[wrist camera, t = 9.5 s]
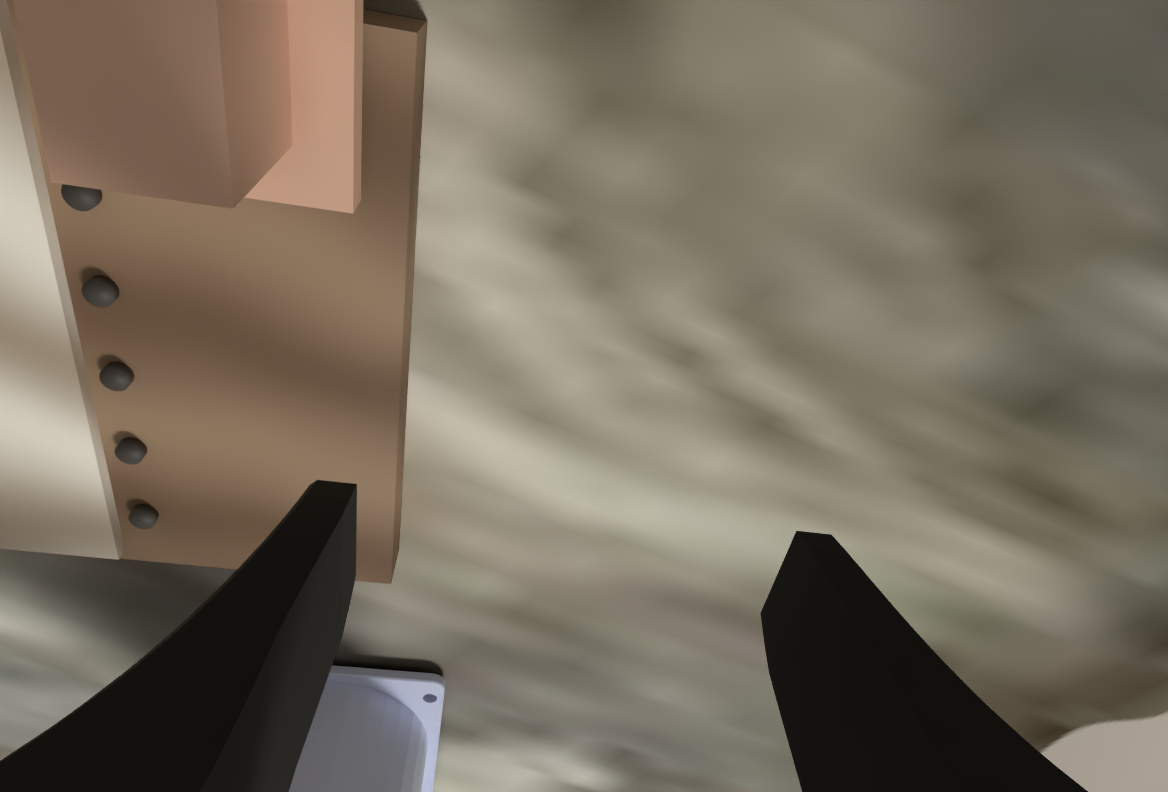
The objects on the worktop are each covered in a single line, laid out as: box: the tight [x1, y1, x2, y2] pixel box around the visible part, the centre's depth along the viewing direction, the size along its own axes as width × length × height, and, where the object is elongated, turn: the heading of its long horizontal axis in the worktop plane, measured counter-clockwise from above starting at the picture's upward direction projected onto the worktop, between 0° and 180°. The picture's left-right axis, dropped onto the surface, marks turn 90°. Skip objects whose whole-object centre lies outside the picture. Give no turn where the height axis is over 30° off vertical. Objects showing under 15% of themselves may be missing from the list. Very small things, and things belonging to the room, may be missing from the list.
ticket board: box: [0, 0, 427, 584], centre depth 20 cm, size 16×14×2 cm
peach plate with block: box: [13, 0, 363, 214], centre depth 13 cm, size 6×5×4 cm
